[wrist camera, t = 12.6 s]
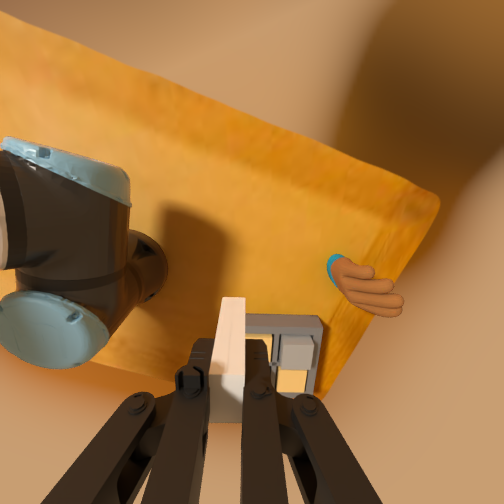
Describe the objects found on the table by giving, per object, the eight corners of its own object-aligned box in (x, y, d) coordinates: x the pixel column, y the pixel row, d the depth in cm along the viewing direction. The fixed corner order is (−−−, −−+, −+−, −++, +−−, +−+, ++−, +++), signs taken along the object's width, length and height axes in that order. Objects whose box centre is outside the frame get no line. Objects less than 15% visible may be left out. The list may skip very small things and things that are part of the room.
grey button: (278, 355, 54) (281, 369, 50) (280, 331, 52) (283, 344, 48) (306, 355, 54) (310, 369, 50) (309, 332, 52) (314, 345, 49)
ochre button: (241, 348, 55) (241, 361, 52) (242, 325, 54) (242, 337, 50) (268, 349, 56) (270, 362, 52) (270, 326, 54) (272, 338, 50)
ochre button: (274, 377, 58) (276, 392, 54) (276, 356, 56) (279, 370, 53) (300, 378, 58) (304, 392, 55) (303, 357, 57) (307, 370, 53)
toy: (371, 289, 53) (418, 333, 39) (341, 302, 54) (375, 350, 39) (352, 240, 49) (395, 269, 35) (319, 255, 50) (349, 290, 36)
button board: (230, 380, 60) (229, 396, 55) (232, 313, 54) (231, 325, 50) (307, 381, 60) (312, 398, 56) (317, 315, 55) (323, 327, 50)
